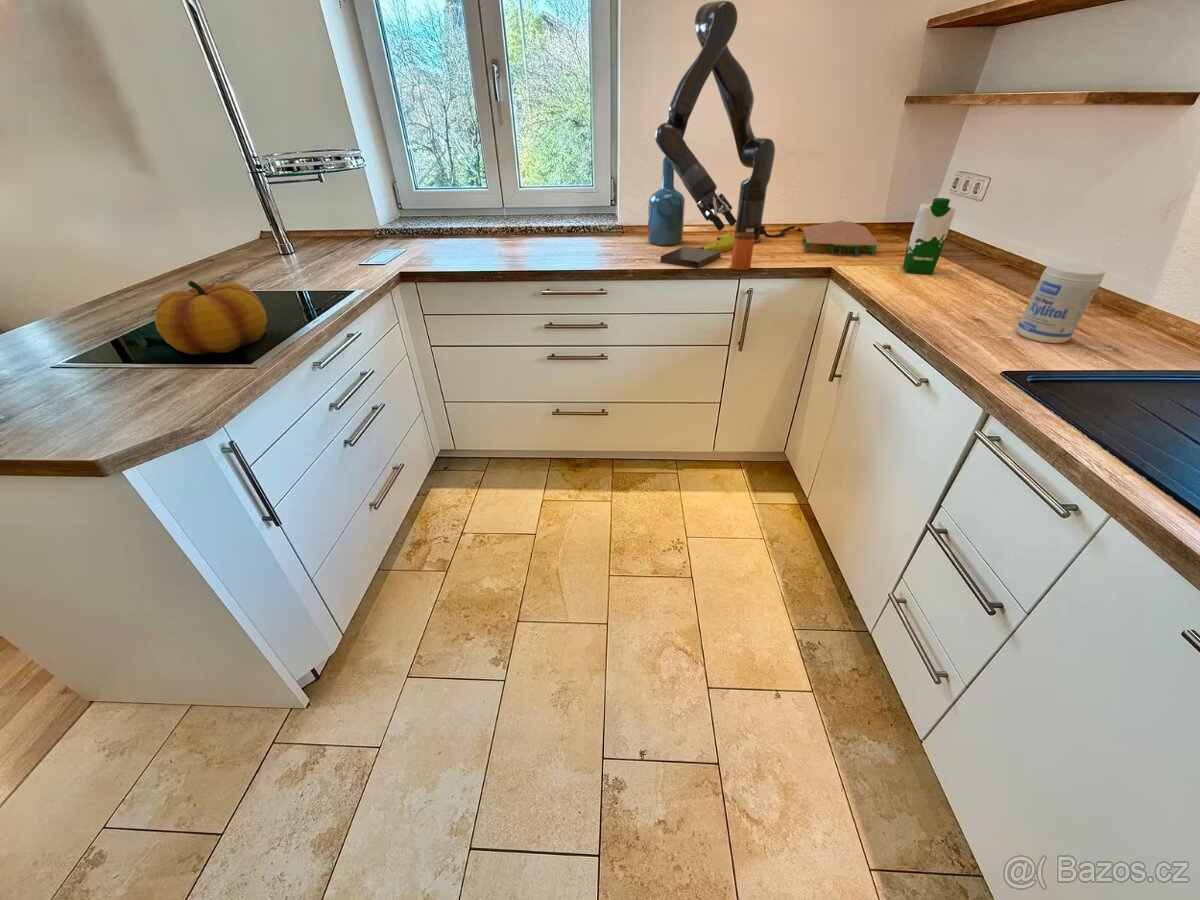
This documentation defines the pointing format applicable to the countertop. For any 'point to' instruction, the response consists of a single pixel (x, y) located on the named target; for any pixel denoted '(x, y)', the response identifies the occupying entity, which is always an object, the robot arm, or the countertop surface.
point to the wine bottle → (666, 211)
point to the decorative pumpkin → (210, 318)
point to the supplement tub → (1059, 301)
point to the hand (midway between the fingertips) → (728, 226)
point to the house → (840, 236)
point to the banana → (721, 243)
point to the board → (690, 257)
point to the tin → (742, 251)
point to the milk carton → (928, 236)
